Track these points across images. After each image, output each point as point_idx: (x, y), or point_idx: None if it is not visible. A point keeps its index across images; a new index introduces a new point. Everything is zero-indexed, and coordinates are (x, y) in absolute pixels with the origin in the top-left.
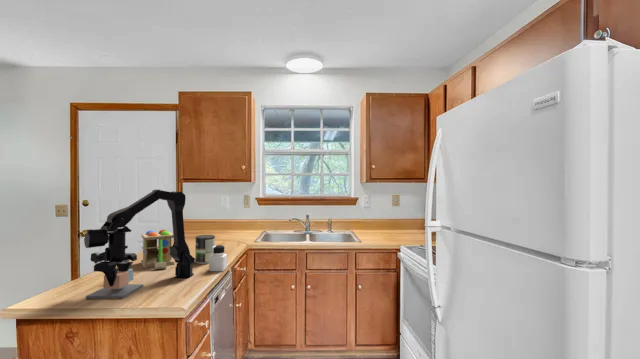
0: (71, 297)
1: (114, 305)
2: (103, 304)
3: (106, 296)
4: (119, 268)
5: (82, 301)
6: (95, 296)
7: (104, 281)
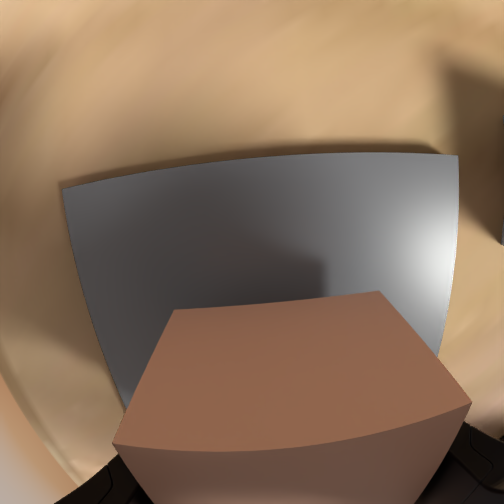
0: (103, 24)
1: (70, 438)
2: (51, 390)
3: (112, 371)
4: (472, 493)
5: (32, 213)
6: (83, 283)
7: (150, 374)
